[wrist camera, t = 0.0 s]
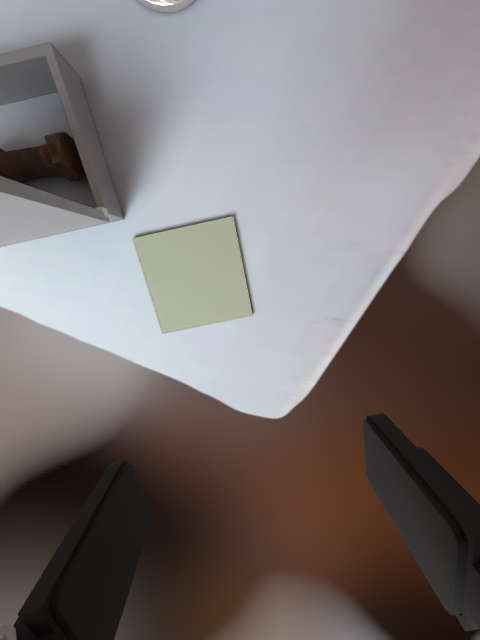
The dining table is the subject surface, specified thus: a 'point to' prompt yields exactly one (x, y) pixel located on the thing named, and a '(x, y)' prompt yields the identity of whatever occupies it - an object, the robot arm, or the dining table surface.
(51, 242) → the dining table surface
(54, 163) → the bolt
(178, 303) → the mat
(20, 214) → the case
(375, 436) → the robot arm
